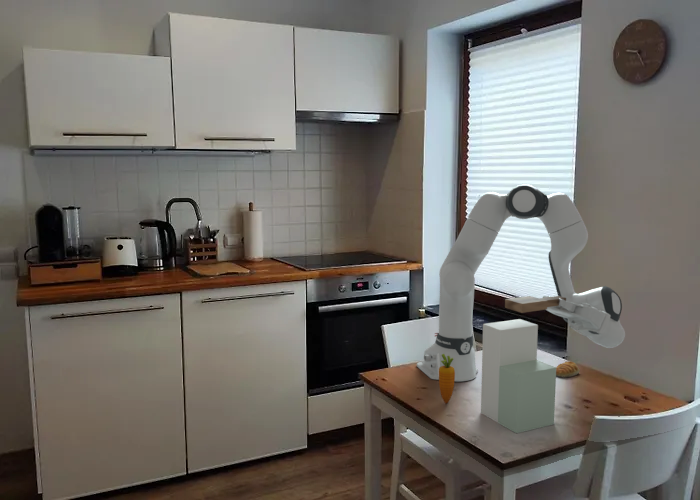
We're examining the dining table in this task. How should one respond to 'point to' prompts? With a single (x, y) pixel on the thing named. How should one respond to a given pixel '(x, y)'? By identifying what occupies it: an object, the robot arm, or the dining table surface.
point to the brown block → (531, 303)
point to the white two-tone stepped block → (516, 377)
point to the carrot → (446, 379)
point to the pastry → (567, 369)
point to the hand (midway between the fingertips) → (553, 299)
